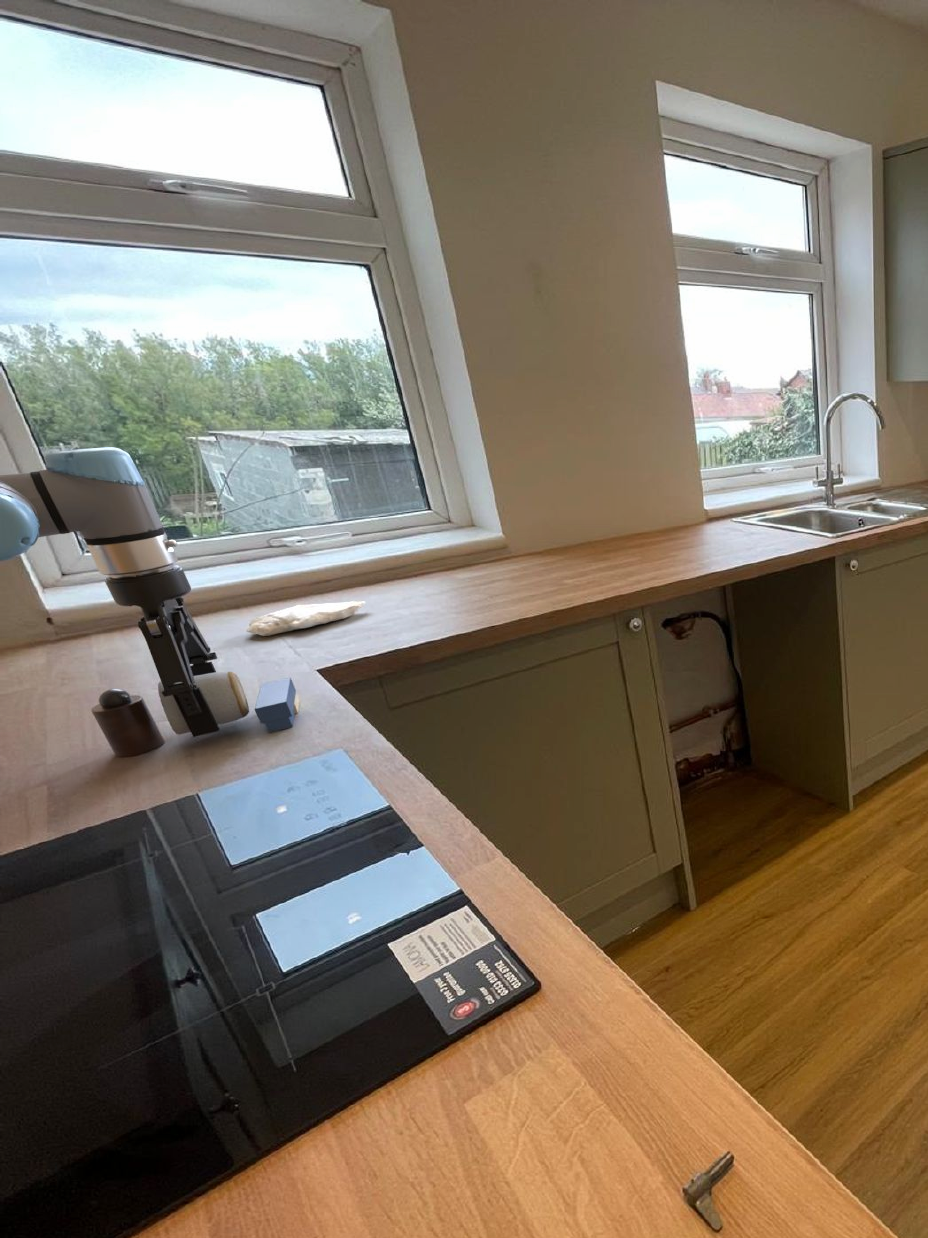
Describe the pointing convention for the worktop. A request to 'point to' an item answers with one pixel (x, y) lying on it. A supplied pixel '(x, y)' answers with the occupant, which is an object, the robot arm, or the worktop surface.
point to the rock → (302, 617)
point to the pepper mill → (126, 723)
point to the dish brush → (277, 704)
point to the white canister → (210, 700)
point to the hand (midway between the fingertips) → (212, 718)
